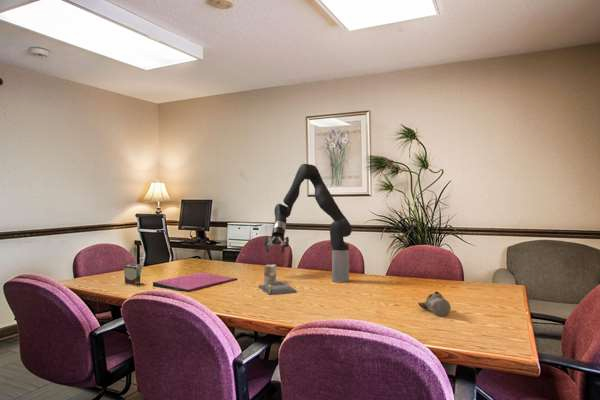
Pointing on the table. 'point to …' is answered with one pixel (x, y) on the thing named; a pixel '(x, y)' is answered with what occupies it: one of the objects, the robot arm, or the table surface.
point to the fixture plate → (276, 288)
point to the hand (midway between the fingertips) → (274, 251)
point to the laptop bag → (192, 282)
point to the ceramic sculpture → (436, 304)
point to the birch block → (269, 273)
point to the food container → (132, 273)
